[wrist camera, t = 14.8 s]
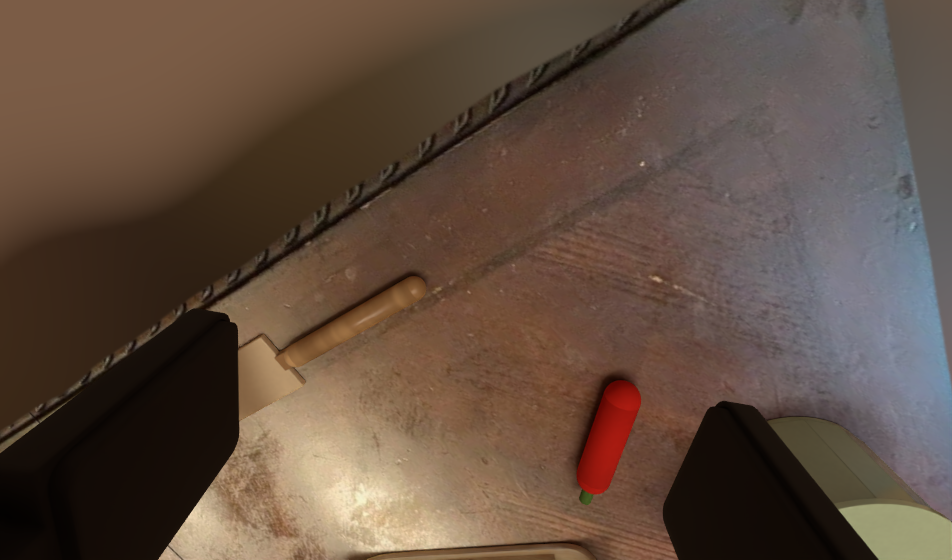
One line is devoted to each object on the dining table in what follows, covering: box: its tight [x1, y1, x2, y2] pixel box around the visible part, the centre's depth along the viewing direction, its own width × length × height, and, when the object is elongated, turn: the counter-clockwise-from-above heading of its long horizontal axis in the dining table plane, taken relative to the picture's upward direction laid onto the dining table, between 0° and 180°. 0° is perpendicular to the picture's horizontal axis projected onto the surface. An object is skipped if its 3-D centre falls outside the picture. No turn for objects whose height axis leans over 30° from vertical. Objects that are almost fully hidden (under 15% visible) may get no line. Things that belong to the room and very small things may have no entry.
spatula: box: [238, 276, 426, 421], centre depth 36 cm, size 21×5×2 cm, turn 122°
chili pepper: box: [577, 380, 641, 505], centre depth 38 cm, size 12×3×3 cm, turn 170°
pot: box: [767, 417, 931, 508], centre depth 37 cm, size 15×15×8 cm
